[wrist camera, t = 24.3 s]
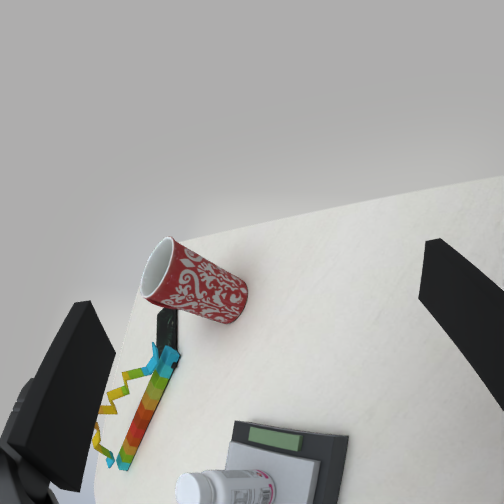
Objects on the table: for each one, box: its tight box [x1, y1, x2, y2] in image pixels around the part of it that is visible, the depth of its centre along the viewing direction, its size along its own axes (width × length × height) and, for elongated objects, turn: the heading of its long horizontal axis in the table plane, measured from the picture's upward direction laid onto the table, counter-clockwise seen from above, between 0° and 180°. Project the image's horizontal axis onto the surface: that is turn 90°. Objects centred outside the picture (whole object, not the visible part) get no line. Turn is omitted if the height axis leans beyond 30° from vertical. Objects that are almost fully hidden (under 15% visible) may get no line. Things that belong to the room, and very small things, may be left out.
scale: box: [225, 421, 348, 504], centre depth 27 cm, size 14×14×4 cm
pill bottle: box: [175, 470, 275, 504], centre depth 23 cm, size 5×5×8 cm
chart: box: [92, 342, 180, 471], centre depth 50 cm, size 30×3×15 cm, turn 139°
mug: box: [140, 236, 248, 324], centre depth 47 cm, size 13×9×14 cm
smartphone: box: [156, 308, 177, 369], centre depth 60 cm, size 7×1×15 cm
